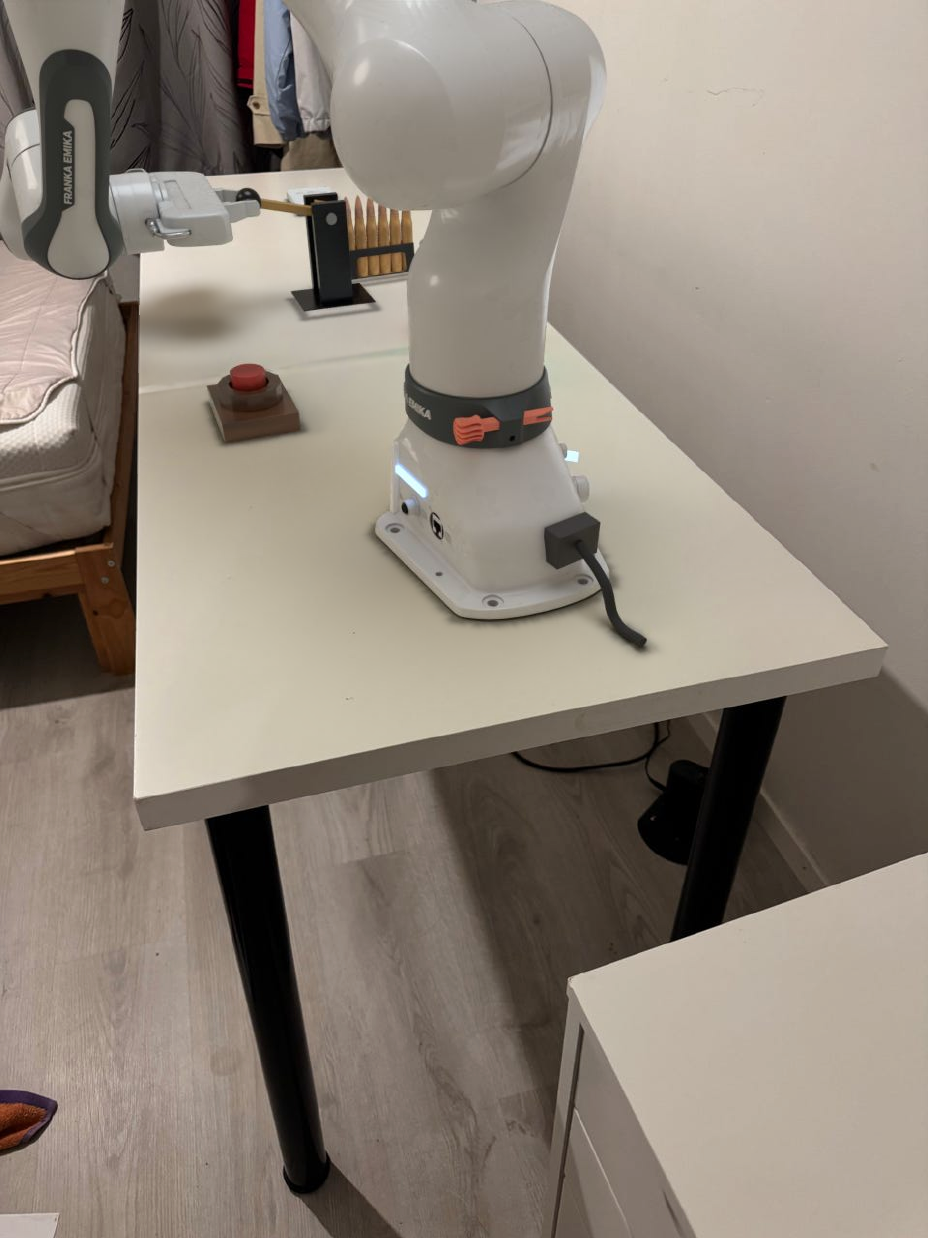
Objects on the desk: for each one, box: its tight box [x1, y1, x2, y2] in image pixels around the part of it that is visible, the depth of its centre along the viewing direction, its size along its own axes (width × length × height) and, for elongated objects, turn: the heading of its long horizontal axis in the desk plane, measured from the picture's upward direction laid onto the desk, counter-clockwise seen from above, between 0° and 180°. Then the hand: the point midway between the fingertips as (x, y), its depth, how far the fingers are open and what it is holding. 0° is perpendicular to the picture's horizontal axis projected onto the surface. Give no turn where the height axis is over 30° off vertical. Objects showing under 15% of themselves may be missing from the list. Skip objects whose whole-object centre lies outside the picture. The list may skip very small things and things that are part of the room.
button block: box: [206, 370, 302, 444], centre depth 97 cm, size 10×8×4 cm
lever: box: [235, 187, 326, 216], centre depth 115 cm, size 13×3×3 cm, turn 112°
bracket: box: [290, 191, 377, 313], centre depth 120 cm, size 10×8×14 cm
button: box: [229, 363, 267, 391], centre depth 95 cm, size 4×4×2 cm
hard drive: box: [286, 186, 340, 216], centre depth 163 cm, size 2×8×12 cm
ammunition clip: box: [343, 194, 415, 281], centre depth 128 cm, size 11×2×12 cm, turn 114°
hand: (255, 201), depth 113 cm, fingers closed on lever, 3 cm apart
